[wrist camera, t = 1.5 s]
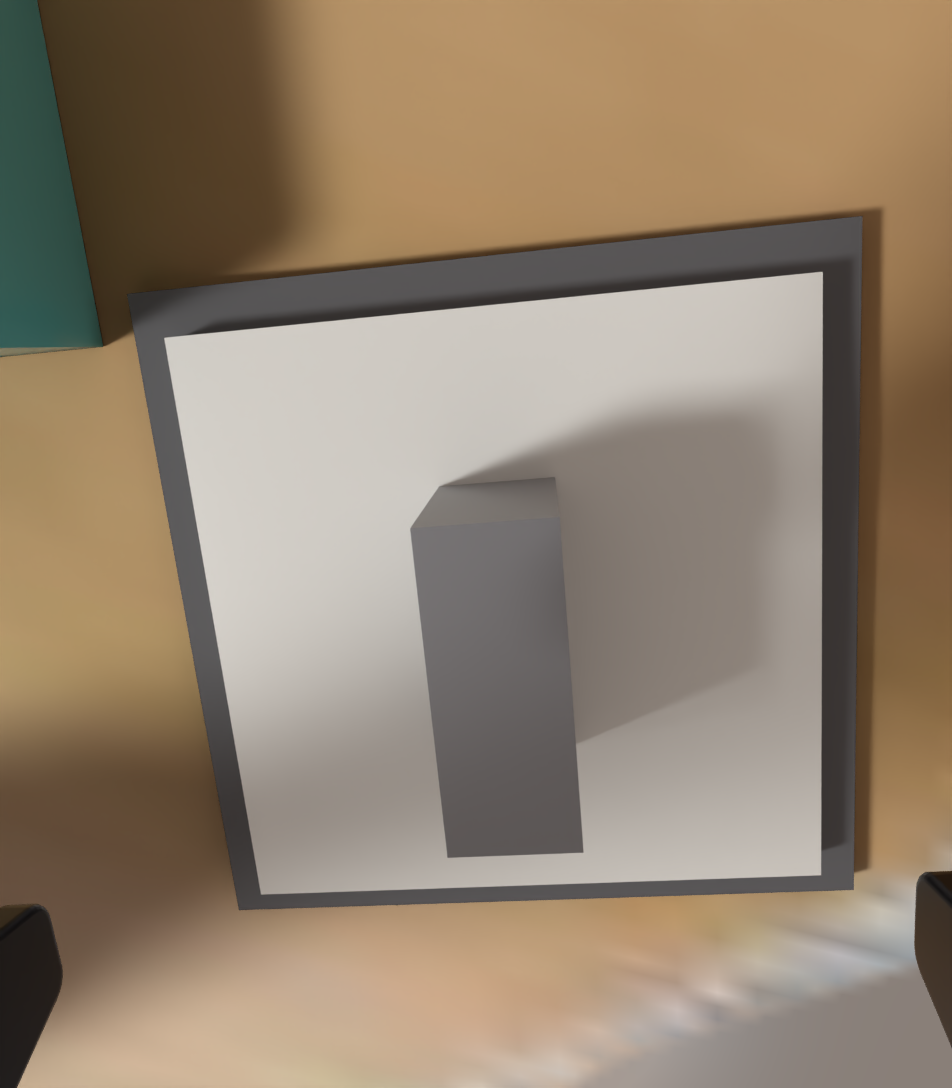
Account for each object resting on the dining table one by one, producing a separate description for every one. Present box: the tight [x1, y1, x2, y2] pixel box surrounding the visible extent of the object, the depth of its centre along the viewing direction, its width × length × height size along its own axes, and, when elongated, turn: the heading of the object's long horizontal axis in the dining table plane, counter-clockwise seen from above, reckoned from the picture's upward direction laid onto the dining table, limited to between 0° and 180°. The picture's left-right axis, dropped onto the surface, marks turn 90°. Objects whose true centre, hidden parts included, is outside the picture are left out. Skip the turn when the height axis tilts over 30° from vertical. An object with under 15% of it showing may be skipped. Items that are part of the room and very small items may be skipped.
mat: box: [127, 216, 862, 910], centre depth 19 cm, size 15×15×1 cm
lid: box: [164, 272, 823, 895], centre depth 16 cm, size 13×13×5 cm
